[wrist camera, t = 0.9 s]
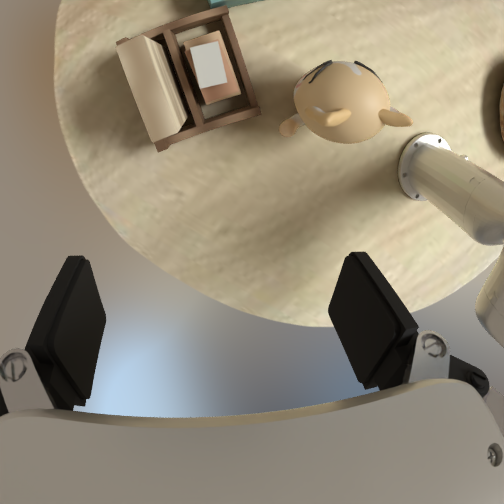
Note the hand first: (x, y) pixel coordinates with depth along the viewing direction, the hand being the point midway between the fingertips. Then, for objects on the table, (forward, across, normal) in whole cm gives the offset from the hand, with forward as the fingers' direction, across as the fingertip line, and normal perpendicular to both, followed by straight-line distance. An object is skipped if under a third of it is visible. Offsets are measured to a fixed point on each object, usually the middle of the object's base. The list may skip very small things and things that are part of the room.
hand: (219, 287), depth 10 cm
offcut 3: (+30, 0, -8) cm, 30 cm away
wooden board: (+32, +5, -6) cm, 33 cm away
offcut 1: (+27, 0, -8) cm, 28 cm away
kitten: (+32, -16, -6) cm, 36 cm away
